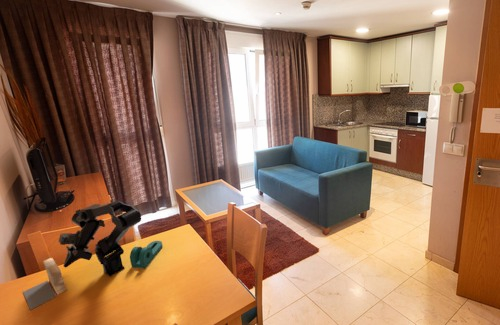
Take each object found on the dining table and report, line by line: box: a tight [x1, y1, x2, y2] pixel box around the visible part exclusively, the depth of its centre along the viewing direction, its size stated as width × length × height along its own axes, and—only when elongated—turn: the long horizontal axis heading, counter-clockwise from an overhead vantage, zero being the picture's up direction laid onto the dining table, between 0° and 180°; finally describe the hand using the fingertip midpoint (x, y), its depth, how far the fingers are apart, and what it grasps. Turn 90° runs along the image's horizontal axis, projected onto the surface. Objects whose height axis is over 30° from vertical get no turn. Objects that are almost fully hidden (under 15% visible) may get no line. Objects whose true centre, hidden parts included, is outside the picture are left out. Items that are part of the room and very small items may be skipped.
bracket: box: [129, 240, 163, 269], centre depth 121 cm, size 18×7×8 cm, turn 170°
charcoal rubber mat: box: [22, 280, 58, 311], centre depth 101 cm, size 8×14×1 cm, turn 49°
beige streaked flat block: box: [42, 257, 67, 296], centre depth 104 cm, size 3×12×10 cm, turn 49°
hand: (64, 266), depth 107 cm, fingers closed
